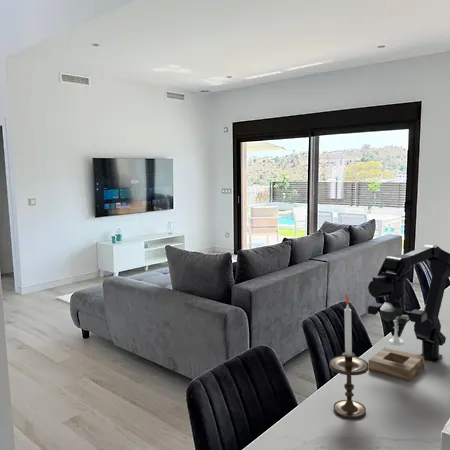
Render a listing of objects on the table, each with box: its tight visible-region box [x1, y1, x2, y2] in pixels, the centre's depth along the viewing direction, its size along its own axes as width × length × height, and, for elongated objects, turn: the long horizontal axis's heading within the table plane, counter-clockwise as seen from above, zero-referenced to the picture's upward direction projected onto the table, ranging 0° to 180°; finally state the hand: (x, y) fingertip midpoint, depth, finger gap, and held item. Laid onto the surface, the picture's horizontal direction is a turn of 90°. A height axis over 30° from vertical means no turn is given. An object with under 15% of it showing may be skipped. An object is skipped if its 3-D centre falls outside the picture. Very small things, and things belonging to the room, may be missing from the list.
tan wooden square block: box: [367, 346, 425, 383], centre depth 149 cm, size 14×14×4 cm
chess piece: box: [388, 316, 405, 347], centre depth 147 cm, size 5×5×10 cm
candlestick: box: [329, 293, 369, 420], centre depth 122 cm, size 11×11×35 cm
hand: (396, 336), depth 148 cm, fingers closed on chess piece
